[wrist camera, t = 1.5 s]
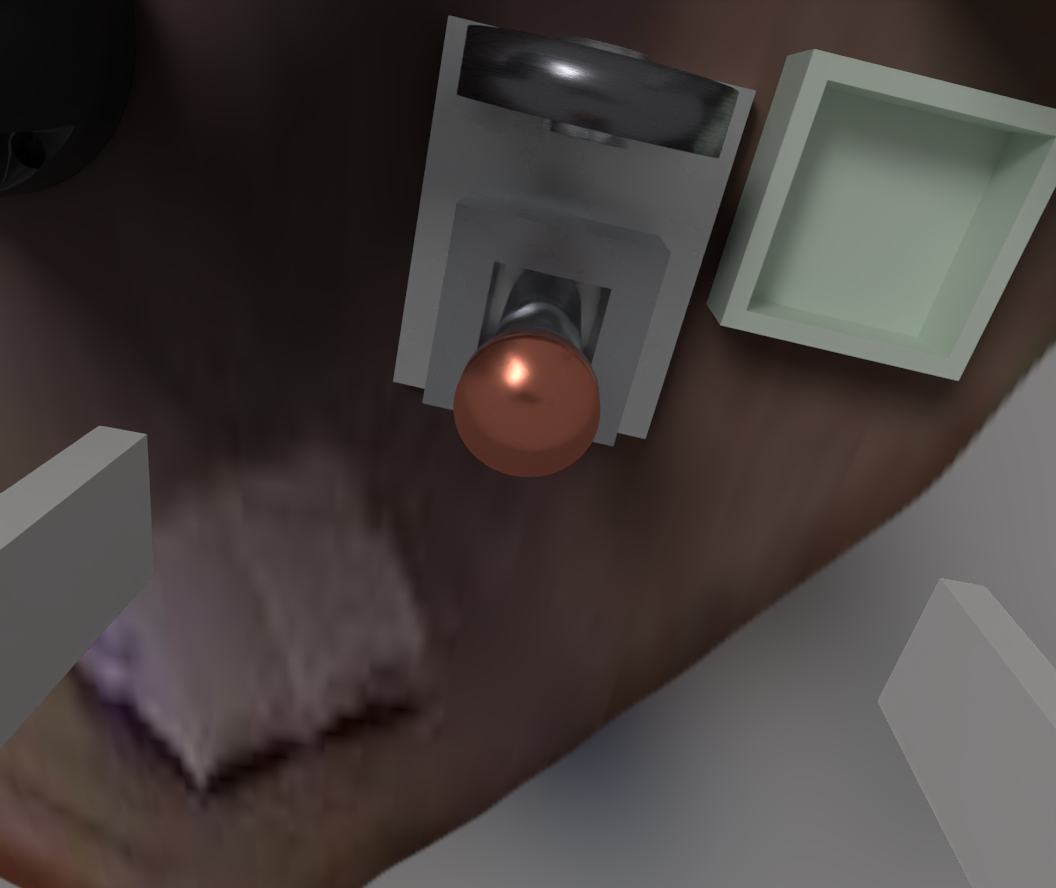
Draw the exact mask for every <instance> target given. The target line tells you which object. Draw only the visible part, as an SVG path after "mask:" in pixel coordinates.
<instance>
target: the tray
mask: <svg viewBox="0 0 1056 888" xmlns="http://www.w3.org/2000/svg"><path fill="white" fill-rule="evenodd" d="M1055 187H1056V109H1054V108H1050V107H1046V106H1041V105H1037V104H1033V103H1029V102H1025V101H1021V100H1017V99H1013V98H1009V97H1005V96H1001V95H997V94H993V93H989V92H985V91H981V90H977V89H973V88H969V87H965V86H961V85H957V84H953V83H949V82H945V81H941V80H937V79H933V78H929V77H925V76H921V75H917V74H913V73H909V72H905V71H901V70H897V69H893V68H889V67H885V66H881V65H877V64H873V63H869V62H864V61H860V60H856V59H852V58H848V57H844V56H840V55H836V54H832V53H828V52H824V51H820V50H816V49H812V50H808V51H804V52H800V53H796V54H792V55H788V56H787V58H786V61H785V64H784V67H783V70H782V73H781V76H780V80H779V83H778V86H777V89H776V92H775V95H774V98H773V101H772V104H771V107H770V110H769V113H768V116H767V119H766V122H765V125H764V128H763V131H762V135H761V138H760V141H759V144H758V147H757V150H756V153H755V156H754V159H753V162H752V165H751V168H750V171H749V174H748V177H747V180H746V183H745V186H744V189H743V193H742V196H741V199H740V202H739V205H738V208H737V211H736V214H735V217H734V220H733V223H732V226H731V229H730V232H729V235H728V238H727V241H726V244H725V247H724V251H723V254H722V257H721V260H720V263H719V266H718V269H717V272H716V275H715V278H714V281H713V284H712V287H711V290H710V293H709V296H708V299H707V302H706V304H707V306H708V307H709V309H710V310H711V312H712V313H713V315H714V316H715V318H716V319H717V321H718V323H719V324H720V325H721V326H726V327H730V328H734V329H738V330H743V331H747V332H751V333H755V334H760V335H764V336H768V337H773V338H777V339H781V340H785V341H790V342H794V343H798V344H802V345H807V346H811V347H815V348H820V349H824V350H828V351H832V352H837V353H841V354H845V355H849V356H854V357H858V358H862V359H867V360H871V361H875V362H879V363H884V364H888V365H892V366H896V367H901V368H905V369H909V370H914V371H918V372H922V373H926V374H931V375H935V376H939V377H943V378H948V379H952V380H956V381H959V379H960V377H961V375H962V373H963V371H964V369H965V367H966V365H967V363H968V361H969V359H970V357H971V355H972V353H973V351H974V349H975V347H976V345H977V343H978V341H979V339H980V337H981V335H982V333H983V331H984V329H985V327H986V325H987V323H988V321H989V319H990V317H991V315H992V313H993V311H994V309H995V307H996V305H997V303H998V301H999V299H1000V297H1001V295H1002V293H1003V291H1004V289H1005V287H1006V285H1007V283H1008V281H1009V279H1010V277H1011V275H1012V273H1013V271H1014V269H1015V267H1016V265H1017V263H1018V261H1019V259H1020V257H1021V255H1022V253H1023V251H1024V249H1025V247H1026V245H1027V243H1028V241H1029V239H1030V237H1031V235H1032V233H1033V231H1034V229H1035V227H1036V225H1037V223H1038V221H1039V219H1040V217H1041V215H1042V213H1043V211H1044V209H1045V207H1046V205H1047V203H1048V201H1049V199H1050V197H1051V195H1052V193H1053V191H1054V189H1055Z"/></svg>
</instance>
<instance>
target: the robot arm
mask: <svg viewBox="0 0 1056 888" xmlns="http://www.w3.org/2000/svg"><path fill="white" fill-rule="evenodd" d="M134 50H135V36H134V20H133V10H132V4H131V0H0V197H4V196H11V195H18V194H24V193H30V192H34V191H39V190H42V189H45V188H48V187H51V186H53V185H56V184H58V183H60V182H62V181H64V180H66V179H68V178H70V177H71V176H73V175H74V174H76V173H77V172H79V171H80V170H81V169H82V168H84V167H85V166H86V165H87V164H88V163H90V161H91V160H92V159H93V158H94V157H95V156H96V155H97V154H98V153H99V152H100V151H101V149H102V148H103V147H104V146H105V144H106V143H107V141H108V140H109V138H110V137H111V135H112V133H113V132H114V130H115V128H116V126H117V124H118V122H119V120H120V117H121V115H122V113H123V110H124V107H125V104H126V101H127V98H128V94H129V90H130V86H131V80H132V74H133V65H134ZM153 575H154V561H153V541H152V522H151V502H150V483H149V463H148V444H147V434H143V433H137V432H132V431H126V430H121V429H115V428H110V427H104V426H98V427H97V428H95V429H94V430H92V431H91V432H89V433H88V434H86V435H85V436H84V437H82V438H81V439H79V440H78V441H76V442H75V443H73V444H72V445H70V446H69V447H68V448H66V449H65V450H63V451H62V452H60V453H59V454H57V455H56V456H55V457H53V458H52V459H50V460H49V461H47V462H46V463H44V464H43V465H41V466H40V467H39V468H37V469H36V470H34V471H33V472H31V473H30V474H28V475H27V476H26V477H24V478H23V479H21V480H20V481H18V482H17V483H15V484H14V485H12V486H11V487H10V488H8V489H7V490H5V491H4V492H2V493H1V494H0V749H1V747H2V746H3V745H4V744H5V743H6V742H7V741H8V739H9V738H10V737H11V736H12V735H13V734H14V733H15V731H16V730H17V729H18V728H19V727H20V726H21V725H22V724H23V722H24V721H25V720H26V719H27V718H28V717H29V716H30V714H31V713H32V712H33V711H34V710H35V709H36V708H37V707H38V705H39V704H40V703H41V702H42V701H43V700H44V699H45V697H46V696H47V695H48V694H49V693H50V692H51V691H52V689H53V688H54V687H55V686H56V685H57V684H58V683H59V682H60V680H61V679H62V678H63V677H64V676H65V675H66V674H67V672H68V671H69V670H70V669H71V668H72V667H73V666H74V664H75V663H76V662H77V661H78V660H79V659H80V658H81V657H82V655H83V654H84V653H85V652H86V651H87V650H88V649H89V647H90V646H91V645H92V644H93V643H94V642H95V641H96V640H97V638H98V637H99V636H100V635H101V634H102V633H103V632H104V630H105V629H106V628H107V627H108V626H109V625H110V624H111V622H112V621H113V620H114V619H115V618H116V617H117V616H118V615H119V613H120V612H121V611H122V610H123V609H124V608H125V607H126V605H127V604H128V603H129V602H130V601H131V600H132V599H133V598H134V596H135V595H136V594H137V593H138V592H139V591H140V590H141V588H142V587H143V586H144V585H145V584H146V583H147V582H148V580H149V579H150V578H151V577H152V576H153ZM877 702H878V704H879V706H880V708H881V710H882V712H883V714H884V715H885V718H886V720H887V722H888V724H889V726H890V728H891V730H892V732H893V734H894V736H895V738H896V740H897V742H898V744H899V745H900V747H901V749H902V751H903V753H904V755H905V757H906V759H907V761H908V763H909V765H910V767H911V769H912V771H913V773H914V775H915V777H916V779H917V781H918V783H919V785H920V787H921V789H922V791H923V793H924V795H925V797H926V799H927V801H928V803H929V805H930V807H931V809H932V811H933V813H934V815H935V817H936V819H937V821H938V822H939V824H940V826H941V828H942V830H943V832H944V834H945V836H946V838H947V840H948V842H949V844H950V846H951V848H952V850H953V852H954V854H955V856H956V858H957V860H958V861H959V864H960V866H961V868H962V870H963V872H964V874H965V876H966V878H967V880H968V882H969V884H970V886H971V888H1056V669H1055V668H1054V667H1053V666H1052V665H1051V663H1050V662H1049V661H1048V660H1047V659H1046V658H1045V656H1043V654H1042V653H1041V652H1040V651H1039V649H1038V648H1037V647H1036V646H1035V645H1034V643H1033V642H1032V641H1031V640H1030V639H1029V638H1028V636H1027V635H1026V634H1025V633H1024V632H1023V630H1022V629H1021V628H1020V627H1019V626H1018V625H1017V623H1016V622H1015V621H1014V620H1013V619H1012V617H1010V615H1009V614H1008V613H1007V612H1006V611H1005V609H1004V608H1003V607H1002V606H1001V605H1000V603H999V602H998V601H997V600H996V599H995V597H994V596H993V595H992V594H991V593H990V592H989V590H988V589H987V588H986V587H985V586H981V585H976V584H970V583H964V582H959V581H954V580H948V579H942V578H940V579H939V581H938V583H937V585H936V587H935V589H934V591H933V593H932V595H931V597H930V599H929V601H928V603H927V605H926V607H925V609H924V611H923V613H922V614H921V617H920V619H919V621H918V622H917V624H916V626H915V628H914V630H913V632H912V634H911V636H910V638H909V640H908V642H907V644H906V646H905V648H904V650H903V652H902V654H901V656H900V658H899V660H898V662H897V664H896V666H895V668H894V670H893V672H892V674H891V676H890V678H889V680H888V681H887V684H886V686H885V688H884V689H883V691H882V693H881V695H880V697H879V699H878V701H877Z"/></svg>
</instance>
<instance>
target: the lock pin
mask: <svg viewBox="0 0 1056 888" xmlns="http://www.w3.org/2000/svg"><path fill="white" fill-rule="evenodd" d="M453 411H454V419H455V424H456V427H457V430H458V432H459V435H460V437H461V439H462V440H463V442H464V444H465V445H466V447H467V448H468V449H469V450H470V451H471V453H472V454H473V455H474V456H475V457H476V458H478V459H479V460H480V461H481V462H483V463H484V464H485V465H487V466H489V467H491V468H492V469H494V470H497V471H499V472H501V473H504V474H508V475H511V476H517V477H540V476H546V475H550V474H553V473H556V472H558V471H560V470H563V469H565V468H566V467H568V466H570V465H571V464H573V463H574V462H575V461H576V460H578V459H579V458H580V457H581V456H582V455H583V454H584V453H585V452H586V450H587V449H588V448H589V446H590V445H591V443H592V441H593V439H594V437H595V435H596V432H597V430H598V426H599V421H600V398H599V386H598V381H597V377H596V375H595V372H594V369H593V368H592V366H591V364H590V362H589V361H588V359H587V358H586V356H585V355H584V354H583V353H582V334H581V300H580V296H579V293H578V291H577V289H576V287H575V286H574V284H573V283H572V282H571V281H570V280H569V279H567V278H563V277H559V276H554V275H550V274H546V273H542V272H537V271H533V272H531V273H528V274H526V275H525V276H523V277H522V278H520V279H519V280H518V281H517V282H516V284H515V285H514V286H513V288H512V290H511V292H510V294H509V297H508V300H507V303H506V305H505V308H504V311H503V313H502V316H501V319H500V322H499V324H498V327H497V330H496V333H495V335H494V337H493V338H491V339H489V340H488V341H487V342H485V343H484V344H482V345H481V346H480V347H479V348H478V349H477V350H476V351H475V352H474V354H473V355H472V356H471V357H470V359H469V361H468V362H467V364H466V366H465V368H464V371H463V373H462V375H461V378H460V380H459V382H458V385H457V387H456V391H455V395H454V403H453Z"/></svg>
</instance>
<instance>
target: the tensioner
mask: <svg viewBox="0 0 1056 888" xmlns="http://www.w3.org/2000/svg"><path fill="white" fill-rule="evenodd" d="M651 59H652V58H651V57H650V56H648V55H646V54H643V53H640V52H637V51H634V50H630V49H627V48H623V47H620V46H616V45H612V44H608V43H604V42H600V41H595V40H591V39H586V38H580V37H574V36H566V35H563V36H562V37H561V40H559V39H554V38H550V37H545V36H540V35H535V34H530V33H525V32H520V31H515V30H509V29H503V28H498V27H494V26H490V25H486V24H482V23H478V22H474V21H470V20H466V19H462V18H458V17H454V16H450V15H448V21H447V27H446V34H445V40H444V47H443V54H442V60H441V67H440V74H439V80H438V87H437V94H436V100H435V107H434V113H433V120H432V127H431V133H430V140H429V147H428V153H427V160H426V167H425V173H424V180H423V187H422V193H421V200H420V206H419V213H418V220H417V226H416V233H415V240H414V246H413V253H412V260H411V266H410V273H409V279H408V286H407V293H406V299H405V306H404V313H403V319H402V326H401V333H400V339H399V346H398V353H397V359H396V366H395V372H394V379H393V382H397V383H401V384H406V385H410V386H415V387H419V388H423V389H425V391H424V396H423V402H422V403H424V404H428V405H433V406H437V407H442V408H446V409H450V410H453V403H454V395H455V391H456V387H457V385H458V382H459V380H460V378H461V375H462V373H463V371H464V368H465V366H466V364H467V362H468V361H469V359H470V357H471V356H472V355H473V354H474V352H475V351H476V350H477V349H478V348H479V347H480V346H481V345H482V344H484V343H485V342H487V341H488V340H489V339H491V338H493V337H494V335H495V333H496V330H497V327H498V324H499V322H500V319H501V316H502V313H503V311H504V308H505V305H506V303H507V300H508V297H509V294H510V292H511V290H512V288H513V286H514V285H515V284H516V282H517V281H518V280H519V279H520V278H522V277H523V276H525V275H526V274H528V273H531V272H533V271H537V272H542V273H546V274H550V275H554V276H559V277H563V278H567V279H569V280H570V281H571V282H572V283H573V284H574V286H575V287H576V289H577V291H578V293H579V296H580V300H581V334H582V353H583V354H584V355H585V356H586V358H587V359H588V361H589V362H590V364H591V366H592V368H593V369H594V372H595V375H596V377H597V381H598V386H599V398H600V421H599V426H598V430H597V432H596V435H595V437H594V439H593V441H592V442H596V443H600V444H604V445H609V446H614V442H615V439H616V436H617V433H621V434H625V435H630V436H634V437H638V438H643V439H646V436H647V433H648V430H649V427H650V423H651V420H652V417H653V414H654V411H655V408H656V404H657V401H658V398H659V395H660V392H661V389H662V386H663V382H664V379H665V376H666V373H667V370H668V367H669V364H670V360H671V357H672V354H673V351H674V348H675V345H676V341H677V338H678V335H679V332H680V329H681V326H682V323H683V319H684V316H685V313H686V310H687V307H688V304H689V300H690V297H691V294H692V291H693V288H694V285H695V282H696V278H697V275H698V272H699V269H700V266H701V263H702V259H703V256H704V253H705V250H706V247H707V244H708V241H709V237H710V234H711V231H712V228H713V225H714V222H715V218H716V215H717V212H718V209H719V206H720V203H721V200H722V196H723V193H724V190H725V187H726V184H727V181H728V177H729V174H730V171H731V168H732V165H733V162H734V159H735V155H736V152H737V149H738V146H739V143H740V140H741V136H742V133H743V130H744V127H745V124H746V121H747V118H748V114H749V111H750V108H751V105H752V102H753V99H754V95H755V92H756V91H755V90H750V89H746V88H742V87H738V86H734V85H730V84H726V83H722V82H718V81H714V80H710V79H707V78H704V77H701V76H698V75H695V74H691V73H688V72H685V71H681V70H678V69H674V68H671V67H667V66H664V65H660V64H656V63H653V62H651Z"/></svg>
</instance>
